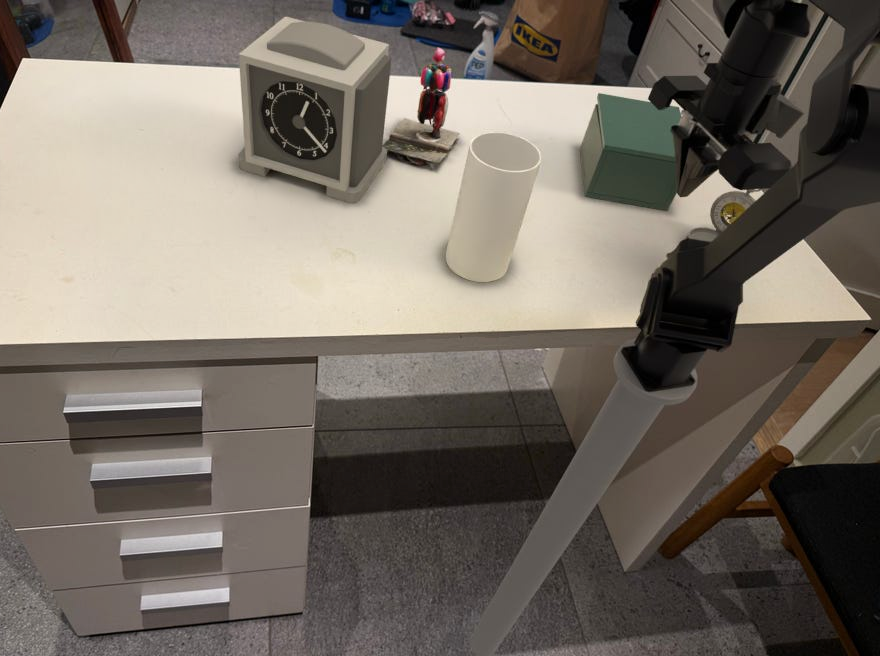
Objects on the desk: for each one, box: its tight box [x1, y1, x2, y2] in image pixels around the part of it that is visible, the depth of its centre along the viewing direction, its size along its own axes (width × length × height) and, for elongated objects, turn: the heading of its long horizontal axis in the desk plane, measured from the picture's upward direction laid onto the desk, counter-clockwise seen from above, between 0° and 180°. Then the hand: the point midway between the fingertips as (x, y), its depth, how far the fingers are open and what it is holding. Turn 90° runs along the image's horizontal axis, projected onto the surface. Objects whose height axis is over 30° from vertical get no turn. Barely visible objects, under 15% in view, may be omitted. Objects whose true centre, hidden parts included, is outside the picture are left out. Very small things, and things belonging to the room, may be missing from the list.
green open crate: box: [579, 103, 677, 211], centre depth 100 cm, size 14×13×8 cm
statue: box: [382, 47, 461, 166], centre depth 98 cm, size 11×9×15 cm
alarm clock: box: [237, 16, 393, 204], centre depth 89 cm, size 18×13×18 cm
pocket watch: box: [686, 189, 763, 242], centre depth 91 cm, size 8×8×10 cm
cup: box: [445, 131, 542, 283], centre depth 80 cm, size 8×8×16 cm
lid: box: [596, 92, 682, 162], centre depth 97 cm, size 14×13×1 cm
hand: (681, 195), depth 78 cm, fingers closed
